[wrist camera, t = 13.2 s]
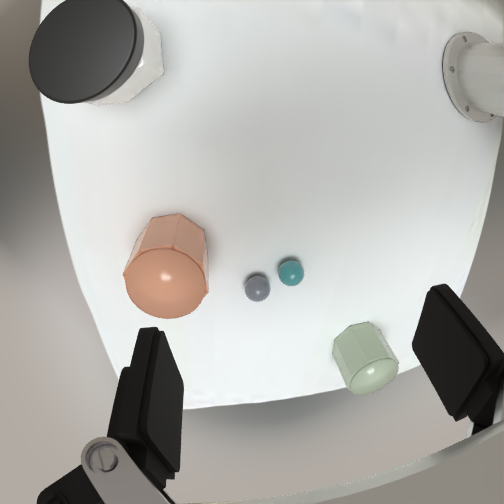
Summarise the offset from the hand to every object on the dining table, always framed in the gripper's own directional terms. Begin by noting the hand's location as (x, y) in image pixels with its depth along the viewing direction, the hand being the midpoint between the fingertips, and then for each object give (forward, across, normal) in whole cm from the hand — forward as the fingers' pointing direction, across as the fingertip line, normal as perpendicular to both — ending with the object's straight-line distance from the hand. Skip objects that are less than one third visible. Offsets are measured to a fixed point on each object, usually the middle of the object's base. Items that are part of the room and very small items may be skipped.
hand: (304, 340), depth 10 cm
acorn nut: (+25, -14, +29) cm, 40 cm away
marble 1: (+21, +1, +14) cm, 26 cm away
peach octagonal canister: (+24, +9, +8) cm, 27 cm away
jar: (+25, +11, -13) cm, 30 cm away
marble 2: (+22, -4, +13) cm, 25 cm away
